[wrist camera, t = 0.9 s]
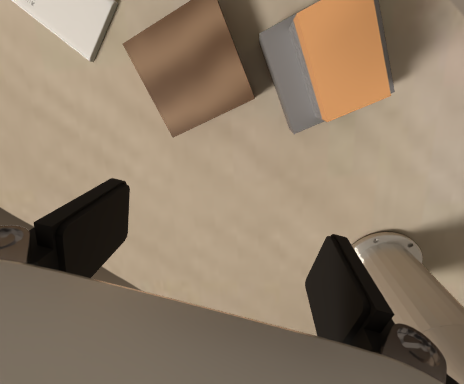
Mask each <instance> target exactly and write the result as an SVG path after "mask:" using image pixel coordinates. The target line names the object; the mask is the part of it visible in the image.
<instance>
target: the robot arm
mask: <svg viewBox="0 0 464 384" xmlns="http://www.w3.org/2000/svg"><path fill="white" fill-rule="evenodd" d="M129 192H130V188H129V186H128V185H127V184H126V182H125V181H122V180H118V179H114V178H111V179H109V180H108V181H106V182H104V183H102V184H100V185H99V186H97V187H95V188H93V189H92V190H90V191H88V192H86V193H85V194H83V195H81V196H79V197H78V198H76V199H74V200H72V201H71V202H69V203H67V204H65V205H63V206H62V207H60V208H58V209H56V210H55V211H53V212H51V213H49V214H48V215H46V216H44V217H42V218H41V219H39V220H37V221H35V222H34V228H33V229H31V230H27V229H26V228H24V227H21V226H15V225H6V226H5V225H4V226H0V384H464V307H463V306H462V305H461V304H460V303H459V302H458V301H457V300H456V299H455V298H454V297H453V296H452V295H451V294H450V293H449V291H448V290H447V289H446V288H445V287H444V286H443V285H442V284H441V283H440V282H439V281H438V280H437V279H436V278H435V277H434V276H433V275H432V274H431V273H430V272H429V271H428V270H427V269H426V268H425V267H424V266H423V265H422V262H423V255H422V252H421V249H420V248H419V246H418V245H417V244H416V243H415V242H414V241H413V240H412V239H410V238H409V237H407V236H405V235H402V234H399V233H395V232H380V233H375V234H371V235H368V236H366V237H363V238H362V239H360V240H358V241H357V242H356V243H354V244H353V245H351V244H350V242H349V240H348V239H347V238H346V237H343V236H339V235H335V234H332V235H331V236H327V237H326V239H325V241H324V243H323V245H322V247H321V249H320V251H319V254H318V256H317V258H316V260H315V262H314V264H313V266H312V268H311V270H310V272H309V274H308V276H307V278H306V282H305V287H306V291H307V295H308V300H309V304H310V308H311V312H312V316H313V320H314V324H315V328H316V332H317V336H314V335H310V334H307V333H303V332H299V331H295V330H291V329H287V328H284V327H280V326H276V325H272V324H268V323H265V322H261V321H257V320H253V319H249V318H246V317H242V316H238V315H234V314H230V313H226V312H222V311H218V310H215V309H211V308H207V307H203V306H199V305H195V304H191V303H187V302H183V301H179V300H175V299H172V298H168V297H164V296H160V295H156V294H152V293H148V292H144V291H140V290H136V289H131V288H128V287H124V286H120V285H116V284H112V283H108V282H104V281H100V280H96V279H92V278H91V277H92V276H93V275H94V274H95V273H96V272H97V270H98V269H99V268H100V267H101V266H102V265H103V264H104V263H105V262H106V261H107V260H108V258H109V257H110V256H111V255H112V254H113V253H114V252H115V251H116V250H117V249H118V248H119V246H120V245H121V244H122V243H123V242H124V241H125V239H126V237H127V234H128V214H129Z"/></svg>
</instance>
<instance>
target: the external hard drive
mask: <svg viewBox="0 0 464 384" xmlns="http://www.w3.org/2000/svg"><path fill="white" fill-rule="evenodd" d="M12 1H13V2H14V3H15V4H17V5H18V6H19V7H21V8H22V9H23V10H24V11H26V12H27V13H28V14H29V15H31V16H32V17H33V18H35V19H36V20H37V21H38V22H40V23H41V24H42V25H44V26H45V27H46V28H47V29H49V30H50V31H51V32H53V33H54V34H55V35H56V36H58V37H59V38H60V39H62V40H63V41H64V42H65V43H67V44H68V45H69V46H71V47H72V48H73V49H74V50H76V51H77V52H78V53H80V54H81V55H82V56H84V57H85V58H86V59H87V60H89V61H91V62H94V60H95V57H96V55H97V53H98V50H99V48H100V46H101V43H102V41H103V38H104V36H105V34H106V31H107V29H108V27H109V24H110V22H111V20H112V17H113V15H114V13H115V10H116V8H117V6H118V3H117V2H116V1H115V0H12Z"/></svg>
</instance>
